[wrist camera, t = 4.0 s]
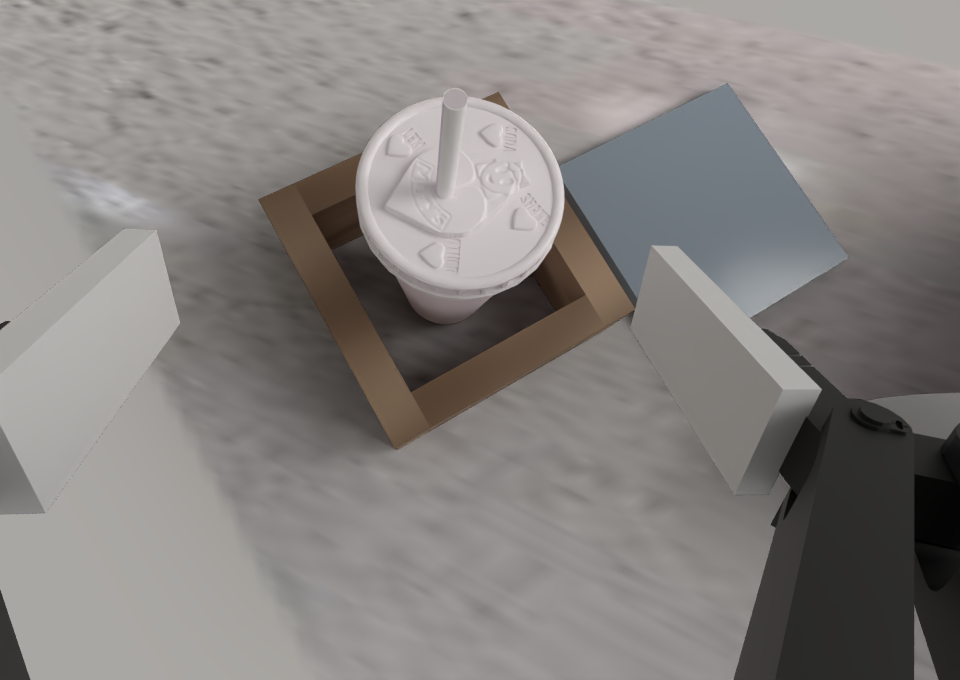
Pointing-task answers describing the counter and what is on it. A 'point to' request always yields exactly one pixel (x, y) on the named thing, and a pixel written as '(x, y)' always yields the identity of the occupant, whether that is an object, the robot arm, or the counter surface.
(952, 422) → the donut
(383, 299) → the counter surface
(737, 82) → the counter surface
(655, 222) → the coaster
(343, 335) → the collar
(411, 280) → the smoothie
